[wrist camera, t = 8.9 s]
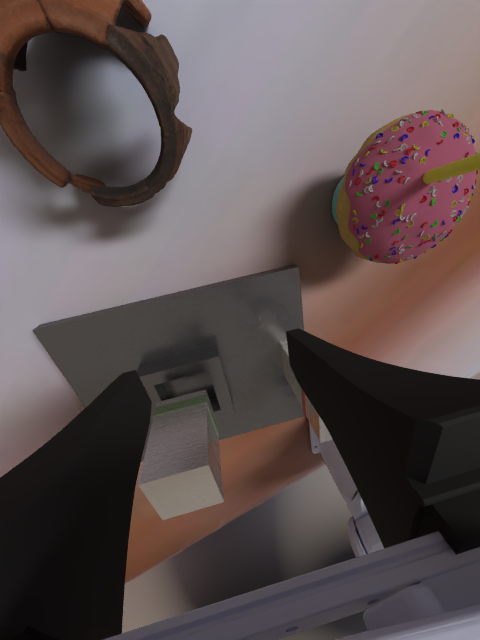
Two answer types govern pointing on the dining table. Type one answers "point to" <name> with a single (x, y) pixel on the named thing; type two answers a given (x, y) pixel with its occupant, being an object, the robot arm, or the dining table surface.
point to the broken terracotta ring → (130, 48)
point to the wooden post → (182, 457)
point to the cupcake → (406, 187)
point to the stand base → (196, 350)
